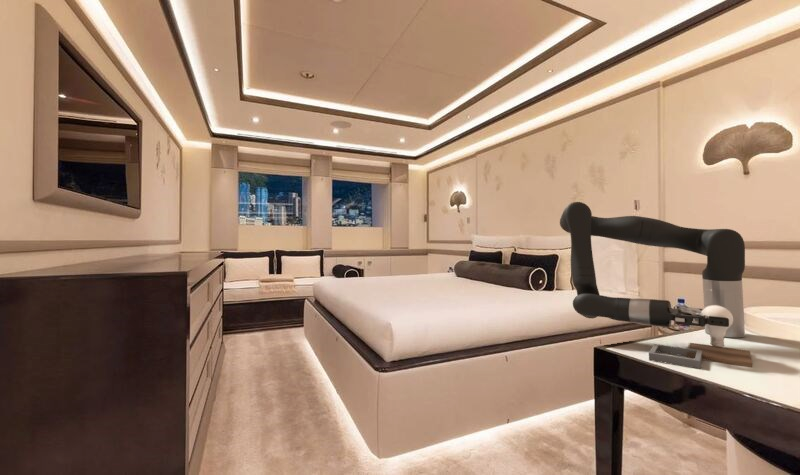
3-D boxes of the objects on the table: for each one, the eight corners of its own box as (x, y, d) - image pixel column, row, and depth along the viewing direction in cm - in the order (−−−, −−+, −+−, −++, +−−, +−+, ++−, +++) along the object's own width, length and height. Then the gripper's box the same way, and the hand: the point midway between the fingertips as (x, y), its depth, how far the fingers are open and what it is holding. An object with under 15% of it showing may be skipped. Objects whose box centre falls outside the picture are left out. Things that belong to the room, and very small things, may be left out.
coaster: (690, 346, 99) (690, 342, 99) (750, 354, 91) (749, 350, 91) (686, 357, 90) (686, 353, 90) (752, 367, 82) (752, 363, 82)
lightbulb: (738, 348, 90) (736, 305, 90) (729, 353, 86) (727, 308, 86) (706, 342, 95) (705, 302, 95) (697, 346, 92) (695, 305, 92)
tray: (655, 350, 97) (654, 343, 97) (702, 357, 90) (702, 350, 90) (649, 360, 89) (648, 353, 89) (700, 368, 82) (699, 361, 82)
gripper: (644, 302, 95) (728, 309, 84) (653, 295, 106) (728, 301, 94) (645, 330, 95) (729, 340, 84) (654, 320, 106) (729, 328, 94)
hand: (728, 319), depth 89 cm, fingers closed on lightbulb, 6 cm apart
